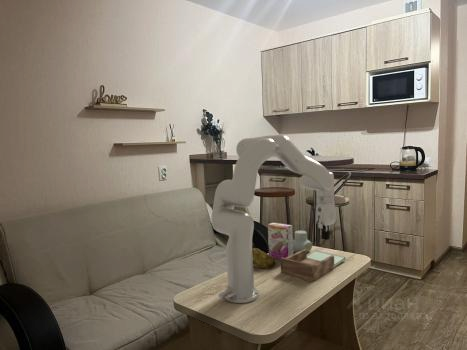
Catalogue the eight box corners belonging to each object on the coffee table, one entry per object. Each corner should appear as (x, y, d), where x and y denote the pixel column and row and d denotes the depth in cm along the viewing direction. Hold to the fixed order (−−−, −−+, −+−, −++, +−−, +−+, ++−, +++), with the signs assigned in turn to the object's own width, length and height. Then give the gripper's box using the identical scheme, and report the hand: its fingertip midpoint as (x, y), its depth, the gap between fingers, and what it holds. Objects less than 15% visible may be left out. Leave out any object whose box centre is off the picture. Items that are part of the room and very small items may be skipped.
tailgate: (334, 264, 148) (345, 256, 155) (305, 257, 159) (316, 250, 166) (334, 267, 148) (345, 259, 155) (305, 259, 159) (316, 253, 166)
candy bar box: (268, 257, 165) (266, 224, 163) (274, 254, 169) (272, 222, 167) (288, 262, 158) (287, 227, 156) (294, 259, 162) (292, 224, 160)
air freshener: (301, 256, 165) (300, 235, 164) (287, 252, 171) (287, 233, 170) (314, 250, 172) (313, 230, 171) (300, 247, 178) (300, 228, 177)
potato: (267, 272, 147) (266, 254, 146) (243, 266, 155) (242, 249, 154) (277, 266, 153) (277, 249, 152) (254, 261, 161) (254, 244, 161)
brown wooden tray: (311, 281, 135) (311, 265, 135) (280, 272, 146) (280, 257, 145) (334, 268, 148) (334, 253, 147) (304, 260, 159) (304, 247, 158)
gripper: (324, 202, 147) (324, 244, 149) (341, 197, 158) (341, 237, 159) (309, 200, 153) (309, 241, 154) (326, 196, 163) (326, 234, 165)
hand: (325, 239), depth 157 cm, fingers closed
